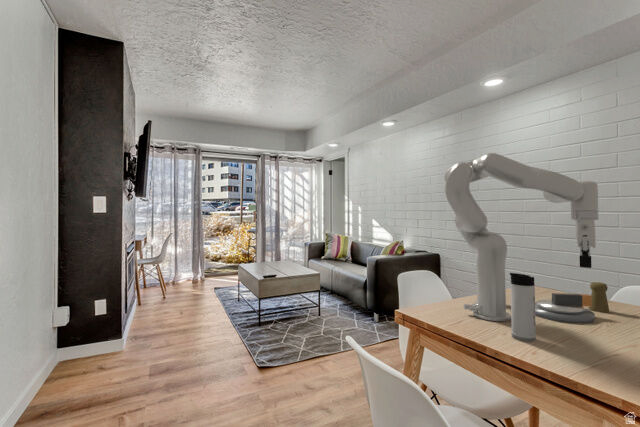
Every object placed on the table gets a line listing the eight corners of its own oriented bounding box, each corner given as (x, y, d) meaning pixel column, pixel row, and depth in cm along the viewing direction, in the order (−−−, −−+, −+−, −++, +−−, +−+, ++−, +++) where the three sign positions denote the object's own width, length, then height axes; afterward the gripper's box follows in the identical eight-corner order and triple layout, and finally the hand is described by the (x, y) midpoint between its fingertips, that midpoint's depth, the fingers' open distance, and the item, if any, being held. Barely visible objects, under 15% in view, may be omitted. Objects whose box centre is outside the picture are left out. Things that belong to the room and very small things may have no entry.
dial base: (544, 321, 111) (544, 314, 111) (519, 306, 131) (519, 299, 131) (609, 324, 107) (609, 317, 107) (573, 308, 127) (573, 301, 127)
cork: (613, 313, 120) (613, 284, 120) (595, 312, 121) (594, 283, 121) (602, 308, 126) (602, 281, 126) (585, 307, 127) (585, 280, 127)
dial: (549, 313, 113) (548, 298, 113) (530, 302, 127) (530, 289, 127) (602, 315, 110) (602, 299, 110) (577, 304, 124) (577, 290, 124)
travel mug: (506, 334, 100) (505, 271, 100) (527, 334, 100) (526, 271, 100) (518, 342, 94) (516, 275, 94) (540, 342, 93) (539, 275, 94)
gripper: (599, 216, 104) (600, 271, 104) (597, 215, 116) (598, 265, 116) (570, 216, 109) (571, 269, 109) (571, 216, 121) (572, 263, 121)
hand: (585, 266), depth 112 cm, fingers closed
